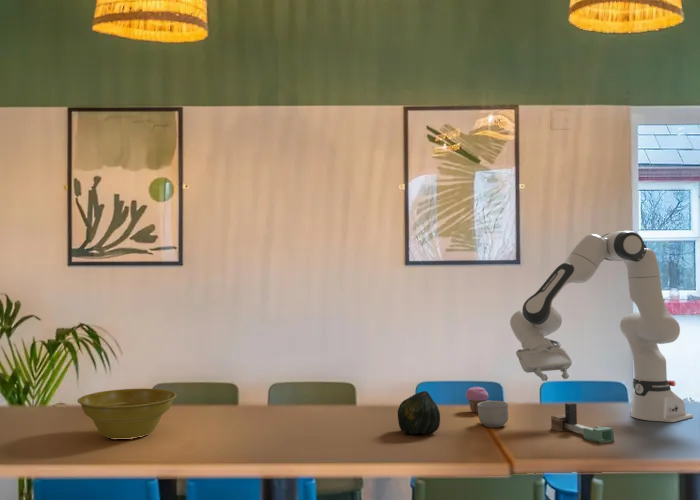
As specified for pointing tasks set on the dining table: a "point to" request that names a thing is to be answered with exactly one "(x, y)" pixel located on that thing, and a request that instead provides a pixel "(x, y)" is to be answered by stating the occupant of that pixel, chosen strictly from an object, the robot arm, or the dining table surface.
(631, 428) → the dining table surface
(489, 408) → the teacup
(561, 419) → the socket block
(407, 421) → the squash
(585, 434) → the green slotted block
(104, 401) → the planter bowl
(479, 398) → the cupcake
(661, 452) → the dining table surface
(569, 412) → the two-tone rectangular rod
